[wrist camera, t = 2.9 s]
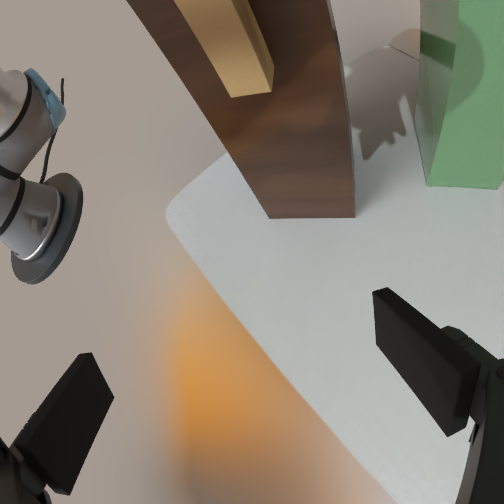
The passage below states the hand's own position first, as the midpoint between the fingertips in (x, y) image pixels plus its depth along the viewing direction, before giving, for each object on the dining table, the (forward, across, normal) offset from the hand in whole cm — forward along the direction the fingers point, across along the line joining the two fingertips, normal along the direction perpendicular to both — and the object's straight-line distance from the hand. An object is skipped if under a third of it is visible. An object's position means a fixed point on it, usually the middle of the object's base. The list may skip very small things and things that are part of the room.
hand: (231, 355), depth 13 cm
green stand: (+21, +30, +6) cm, 37 cm away
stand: (+26, +11, +5) cm, 28 cm away
